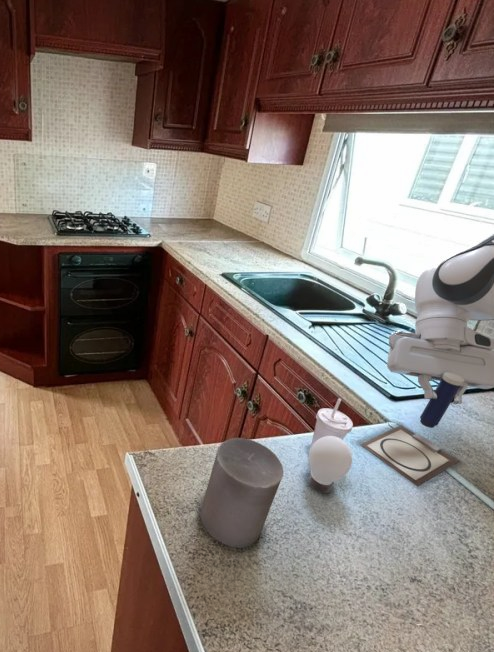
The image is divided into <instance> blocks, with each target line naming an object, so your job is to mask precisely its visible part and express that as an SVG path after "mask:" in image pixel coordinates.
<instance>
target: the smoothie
mask: <svg viewBox="0 0 494 652" xmlns="http://www.w3.org/2000/svg"><path fill="white" fill-rule="evenodd" d="M341 402H342V398H337V401H336V403H335V405H334V408H328V407H326V408H325V407H324V408H323V407H322V408H320V409H319V410H318V411H317V413H316V414H315V419H316V422H315V425H314V430H313V435H312V439H311V442H310V448H309V450H310V449H311V447H312V445H313V444H314V443H315V442H316V441H317V440H318V439H320V438H322V437H325V436H335V437H338V438H340V439H342V440H343V441H344V439H345V438H346V436H347V434H349V433H351V432H352V430H353V428H354V423H353V420H352V419H351V418H350V417H349V416H347V415H346V414H345V413H343V412H342V411H339V410H338V409H339V408H340V407H339V406H340V404H341Z"/></svg>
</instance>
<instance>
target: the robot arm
mask: <svg viewBox="0 0 494 652" xmlns="http://www.w3.org/2000/svg"><path fill="white" fill-rule="evenodd" d="M415 285H416V286H415V289H414V291H415V292H414V310H415V312H416V316H417V317H416V320H415V323H414V328H415V329H414V330H415V331H414V332H406V331H404V330H396V331H393V332H392V333H391V334H389V336H388V345H389V350H388V355H387V363H386V364H387V365H386V367H387V369H388V370H389V371H390V373H392V374H393V373H394V374H399V375H400V374H401V375H404V376H405V375H406V376H411V377H415V378H416V377H417V383H418V384H419V385H420V387H421V389H422V390H423V392H424V393H423V394H424V395H423V396H424V399H426V400H434V399H437V397H438V396H437V390H436V389H434V388H433V386H432V385H431V382H432V380H433V381H438V382H440V381H441V379H442V377H443V375H444V373H446V372H450V373H454V374H457V375H459V376H460V377H462V378H463V379H464V382H463V384H462V385H461V387H460V388H459V390H458V392H457V393H456V395H455V397H454V398H453V400H452V402H451V403H450V404H453V405H462V403H463V395H464V393H465V392H466V390H467V389H468V387H471V388H476V389H483V390H489V389H493V388H494V351H493V350H494V338H491V337H489V336H486V335H485V334H483V333H480V332H478V331H476V330H475V329H472V328H470V327H468V322H469V321H494V233H493V234H491V235H490V236H489V237H486V238H485V239H484V240H482V241H479V242H478V243H476V244H474V245H472V246H470V247H467V248H465V249H462V250H460V251H457V252H455V253H453V254H451V255H449V256H448V257H447V258H445V259H444V260H443V261H441V262H440V264H439V265H436V266H433V267H430V268H428V269H426V270H424V271H423V272H422V273H420V275H419V276H418V279H417V281H416V284H415Z"/></svg>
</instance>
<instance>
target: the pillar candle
mask: <svg viewBox="0 0 494 652" xmlns="http://www.w3.org/2000/svg"><path fill="white" fill-rule="evenodd" d="M283 477H284V466H283V464H282V462H281V460H280V459H279V457H278V456H277V455H276V453H274V452H273V451H272V450H271V449H270V448H268V447H267V446H265V445H263V444H262V443H260V442H258V441H255V440H252V439H249V438H244V437H233V438H229V439H227V440H224V441H223V442H222V443H221V444H220V445H219V446H218V448H217V451H216V455H215V457H214V462H213V465H212V469H211V472H210V476H209V479H208V484H207V487H206V490H205V493H204V497H203V500H202V503H201V507H200V513H199V514H200V515H199V516H200V520H201V521H200V522H201V523H202V525H203V527H204V528H205V530H206V532H208V534H209V535H210V536H211V537H212V538H213V539H215V540H216V541H218V542H220V543H221V544H222V545H225V546H227V547H231V548H235V549H236V548H237V549H238V548H240V549H243V548H248V547H250V546H252V545H253V544H255V543H256V542H257V540H258V539H259V538H260V537H261V535H262V531H263V528H264V525H265V523H266V520H267V519H268V515H269V513H270V510H271V507H272V504H273V502H274V500H275V497H276V495H277V492H278V490H279V487H280V484H281V481H282V479H283Z"/></svg>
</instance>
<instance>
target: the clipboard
mask: <svg viewBox="0 0 494 652" xmlns="http://www.w3.org/2000/svg"><path fill="white" fill-rule="evenodd" d="M359 445H360V447H362V448H364V449H365V450H366V451H368V452H369V453H370V454H372V455H374V456H375V457H376V458H378V459H379V460H380V461H382V462H383V463H384V464H386V465H387V466H388V467H390V468H392V469H393V470H394V471H395V472H397V473H398V474H400V475H401V476H403V477H404V478H405V479H406V480H409V481H410V482H411V483H412V484H413V485H415V486H417V487H420V486H421V485H423V484H425V483H426V482H429V480H431V479H432V478H435V477H436V476H438V475H439V474H442V472H444V471H446V470H448V469H449V468H451V467H452V466H454V465H456V464H457V463H459V462H460V461H459V460H457V459H456V458H454V457H452V456H451V455H450V454H448V453H446V452H445V451H443V450H442V448H441V447H440V446H439V445H437V444H435V443H434V442H433V441H431V440H429V439H427V438H426V437H424V436H422V435H421V434H419V433H414V432H413V431H411V430H410V429H408V428H407V427H405V426H403V425H402V424H400V425H398V426H395V427H393V428H391V429H389V430H387V431H385V432H382V433H380V434H378V435H375V436H374V437H372V438H369V439H368V440H365V441H363V442H361V443H359Z"/></svg>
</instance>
